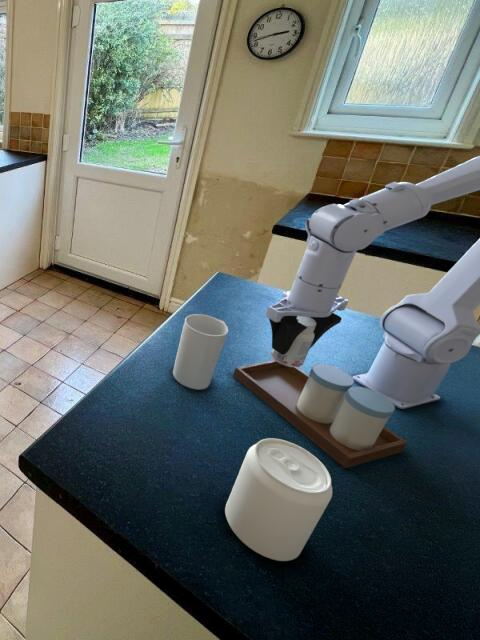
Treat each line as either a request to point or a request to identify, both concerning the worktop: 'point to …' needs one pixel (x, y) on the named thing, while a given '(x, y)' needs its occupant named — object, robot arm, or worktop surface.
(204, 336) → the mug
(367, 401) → the blue lidded jar
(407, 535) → the worktop surface
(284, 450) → the beverage can
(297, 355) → the pill bottle
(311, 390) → the white jar
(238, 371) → the tray
